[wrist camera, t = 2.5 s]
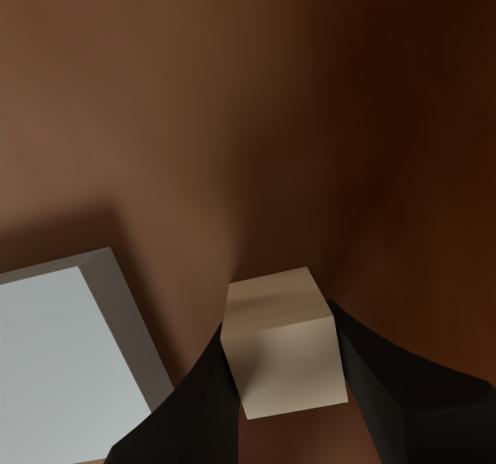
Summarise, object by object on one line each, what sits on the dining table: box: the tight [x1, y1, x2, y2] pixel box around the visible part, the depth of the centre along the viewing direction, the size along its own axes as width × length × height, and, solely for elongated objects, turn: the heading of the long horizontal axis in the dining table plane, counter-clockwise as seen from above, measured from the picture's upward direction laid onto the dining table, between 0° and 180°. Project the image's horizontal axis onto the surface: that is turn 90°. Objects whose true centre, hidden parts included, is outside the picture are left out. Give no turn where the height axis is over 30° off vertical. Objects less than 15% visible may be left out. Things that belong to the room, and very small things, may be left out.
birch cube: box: [220, 267, 348, 420], centre depth 12 cm, size 4×4×4 cm
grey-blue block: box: [0, 247, 174, 464], centre depth 14 cm, size 12×12×3 cm
